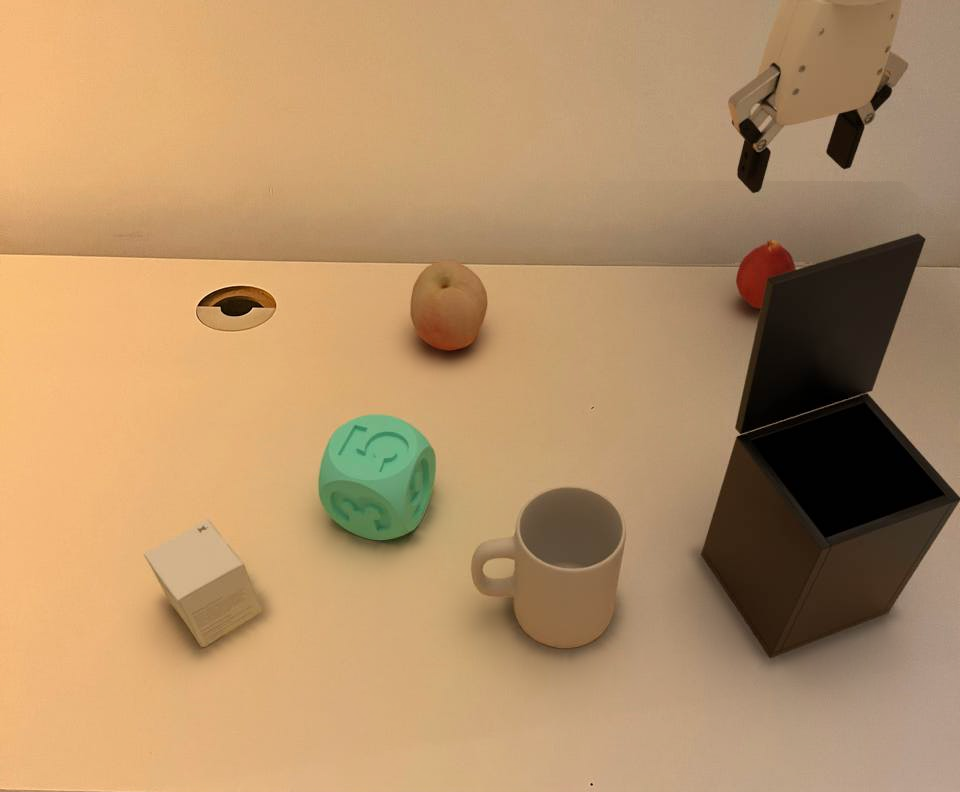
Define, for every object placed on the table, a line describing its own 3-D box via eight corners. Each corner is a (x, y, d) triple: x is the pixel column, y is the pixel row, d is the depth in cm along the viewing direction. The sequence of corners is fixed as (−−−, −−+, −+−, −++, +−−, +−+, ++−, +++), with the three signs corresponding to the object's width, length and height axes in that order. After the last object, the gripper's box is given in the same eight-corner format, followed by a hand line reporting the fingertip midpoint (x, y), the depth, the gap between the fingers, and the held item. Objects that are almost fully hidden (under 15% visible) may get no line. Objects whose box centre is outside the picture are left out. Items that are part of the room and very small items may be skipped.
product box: (168, 602, 81) (140, 551, 75) (229, 567, 83) (207, 515, 77) (202, 650, 79) (176, 601, 72) (264, 613, 81) (245, 562, 74)
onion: (764, 282, 102) (783, 216, 95) (796, 314, 99) (818, 247, 92) (719, 299, 101) (735, 232, 94) (750, 331, 98) (769, 265, 91)
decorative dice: (360, 465, 89) (349, 403, 82) (439, 486, 88) (433, 424, 81) (325, 528, 85) (310, 468, 78) (407, 551, 84) (398, 492, 77)
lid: (926, 238, 62) (918, 232, 62) (773, 284, 60) (766, 277, 60) (872, 391, 72) (866, 385, 72) (740, 434, 70) (734, 428, 70)
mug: (606, 564, 82) (619, 481, 73) (618, 647, 78) (634, 569, 69) (471, 571, 82) (466, 489, 73) (475, 654, 78) (471, 577, 69)
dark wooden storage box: (888, 613, 79) (961, 498, 67) (769, 658, 77) (822, 549, 65) (813, 514, 85) (867, 392, 72) (700, 554, 83) (736, 435, 70)
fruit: (397, 347, 98) (389, 282, 91) (439, 303, 101) (434, 237, 95) (461, 374, 95) (459, 309, 89) (502, 328, 99) (502, 263, 92)
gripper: (919, -76, 76) (849, 132, 91) (733, -38, 73) (691, 171, 87) (977, -36, 72) (895, 174, 87) (785, 5, 69) (732, 217, 84)
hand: (793, 172), depth 87 cm, fingers open, 9 cm apart
